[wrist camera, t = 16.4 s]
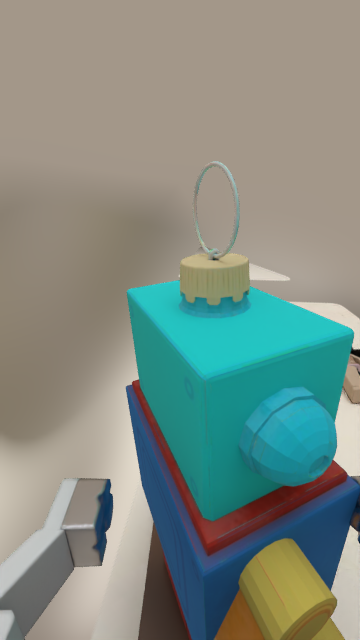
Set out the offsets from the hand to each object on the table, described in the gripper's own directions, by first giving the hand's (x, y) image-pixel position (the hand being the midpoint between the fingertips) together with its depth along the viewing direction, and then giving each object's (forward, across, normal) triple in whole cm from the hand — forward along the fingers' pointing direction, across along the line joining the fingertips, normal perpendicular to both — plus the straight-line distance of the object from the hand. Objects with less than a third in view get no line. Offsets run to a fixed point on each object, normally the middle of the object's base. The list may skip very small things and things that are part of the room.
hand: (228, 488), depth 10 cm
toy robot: (+3, -1, +15) cm, 15 cm away
